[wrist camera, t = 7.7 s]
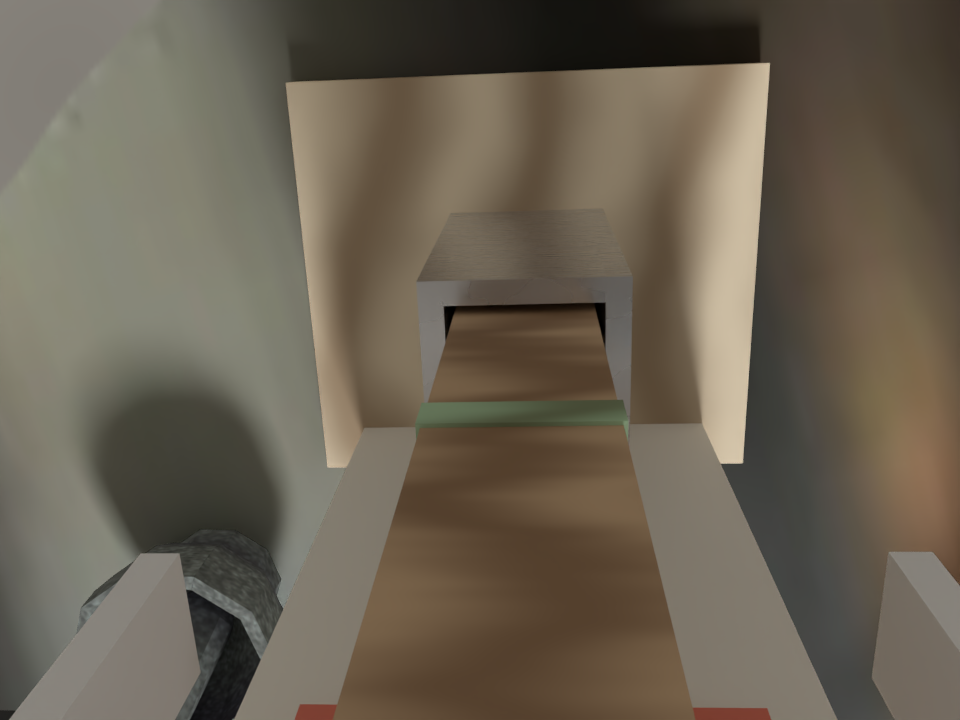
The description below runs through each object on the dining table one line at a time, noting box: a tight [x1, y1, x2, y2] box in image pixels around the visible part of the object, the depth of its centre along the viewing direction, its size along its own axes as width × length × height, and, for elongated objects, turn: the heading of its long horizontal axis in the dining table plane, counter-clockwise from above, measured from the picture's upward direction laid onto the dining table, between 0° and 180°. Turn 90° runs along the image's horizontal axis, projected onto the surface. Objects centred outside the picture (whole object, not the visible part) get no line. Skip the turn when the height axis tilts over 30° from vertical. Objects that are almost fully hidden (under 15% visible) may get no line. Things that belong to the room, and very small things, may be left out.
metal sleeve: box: [416, 209, 633, 447], centre depth 33 cm, size 7×7×12 cm
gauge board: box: [234, 423, 837, 720], centre depth 28 cm, size 16×2×28 cm, turn 92°
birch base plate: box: [286, 63, 770, 468], centre depth 39 cm, size 20×18×2 cm
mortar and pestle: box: [77, 530, 283, 720], centre depth 41 cm, size 11×9×12 cm
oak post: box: [333, 303, 695, 720], centre depth 21 cm, size 5×5×24 cm
